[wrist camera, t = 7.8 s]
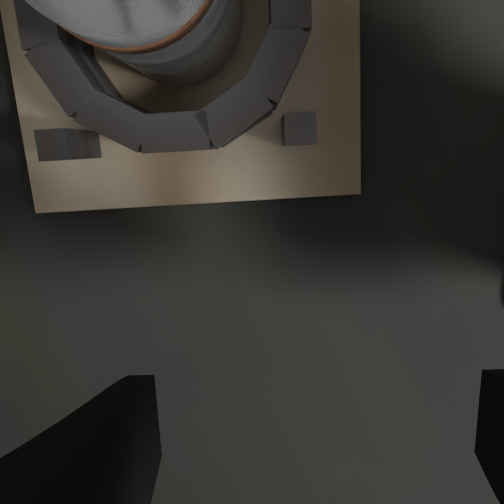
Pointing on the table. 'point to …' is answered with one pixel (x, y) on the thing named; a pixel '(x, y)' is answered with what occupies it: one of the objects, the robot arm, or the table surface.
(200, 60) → the grey cylinder
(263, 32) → the collar plate
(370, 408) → the table surface
